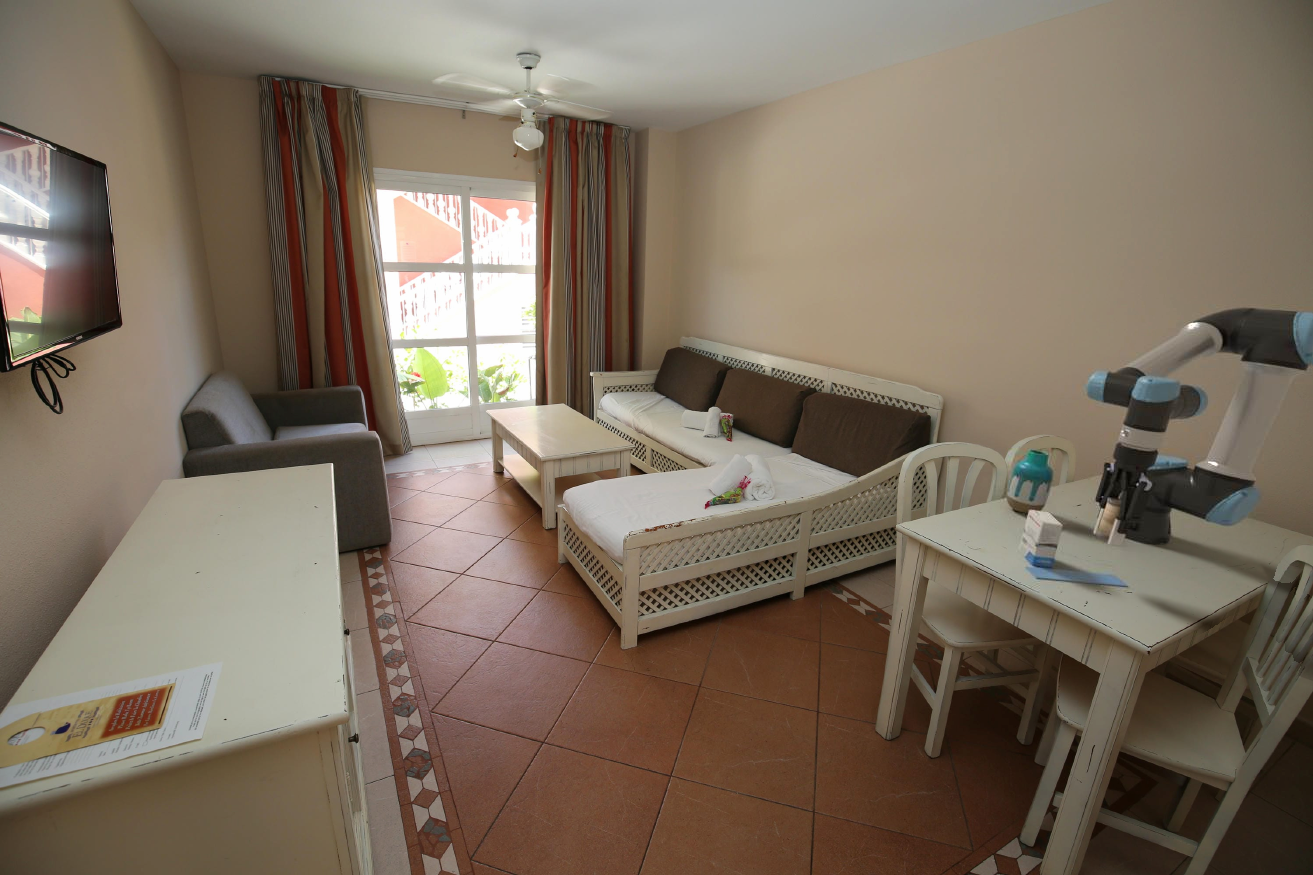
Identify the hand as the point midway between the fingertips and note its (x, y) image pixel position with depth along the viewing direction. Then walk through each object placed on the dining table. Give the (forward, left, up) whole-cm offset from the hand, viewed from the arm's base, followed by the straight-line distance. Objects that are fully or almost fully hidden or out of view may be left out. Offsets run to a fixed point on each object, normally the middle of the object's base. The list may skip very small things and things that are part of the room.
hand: (1107, 539), depth 137 cm
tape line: (+4, 0, -11) cm, 12 cm away
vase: (-3, -40, -11) cm, 42 cm away
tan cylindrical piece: (0, 0, 0) cm, 0 cm away
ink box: (+10, -8, -11) cm, 17 cm away
